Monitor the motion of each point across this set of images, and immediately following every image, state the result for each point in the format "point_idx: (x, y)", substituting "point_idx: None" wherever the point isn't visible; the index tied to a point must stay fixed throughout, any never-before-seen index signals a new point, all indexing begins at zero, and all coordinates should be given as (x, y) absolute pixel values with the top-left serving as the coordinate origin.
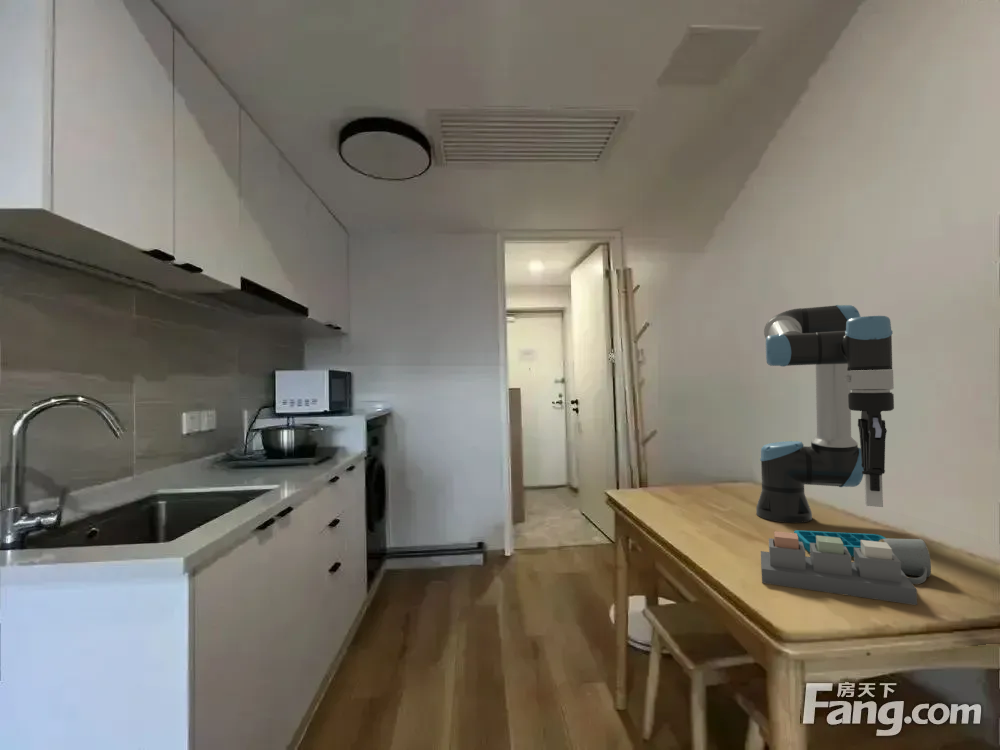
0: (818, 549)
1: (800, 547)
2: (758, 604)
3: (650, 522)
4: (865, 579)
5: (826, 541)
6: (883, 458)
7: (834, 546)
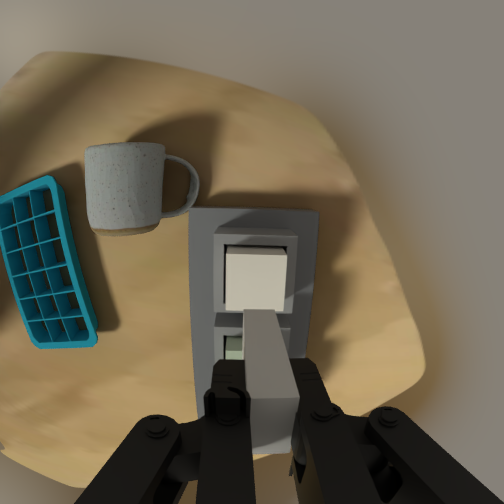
0: None
1: None
2: (368, 405)
3: None
4: (295, 290)
5: None
6: (462, 473)
7: None
